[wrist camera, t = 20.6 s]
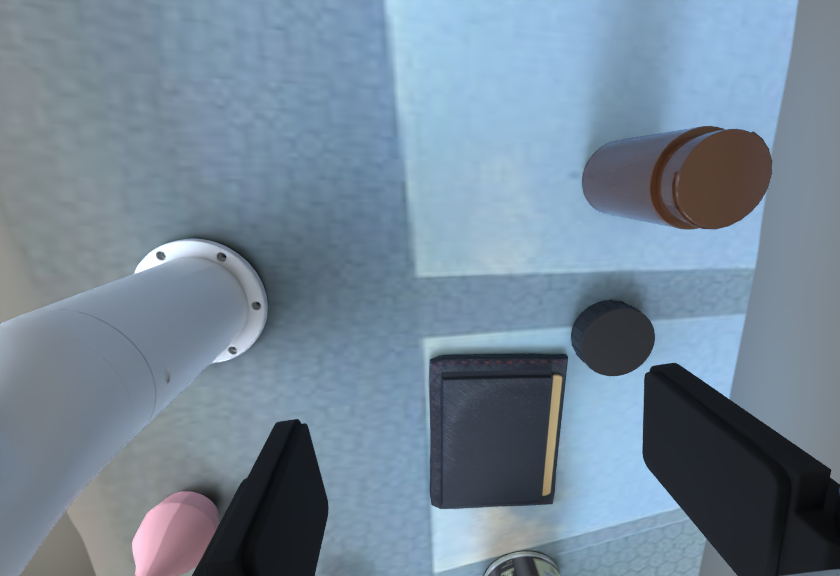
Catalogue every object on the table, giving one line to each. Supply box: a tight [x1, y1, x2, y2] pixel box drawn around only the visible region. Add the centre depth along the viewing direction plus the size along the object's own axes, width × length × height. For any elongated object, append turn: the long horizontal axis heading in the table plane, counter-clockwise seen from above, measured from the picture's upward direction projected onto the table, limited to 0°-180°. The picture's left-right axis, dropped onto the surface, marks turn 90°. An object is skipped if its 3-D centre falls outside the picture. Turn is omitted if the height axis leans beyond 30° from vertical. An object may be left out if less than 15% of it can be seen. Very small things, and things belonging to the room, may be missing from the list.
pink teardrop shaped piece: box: [132, 491, 219, 576], centre depth 39 cm, size 8×8×12 cm
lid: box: [571, 300, 655, 376], centre depth 40 cm, size 7×7×3 cm
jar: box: [582, 126, 772, 229], centre depth 30 cm, size 7×7×13 cm
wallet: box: [429, 354, 568, 509], centre depth 43 cm, size 20×2×15 cm
